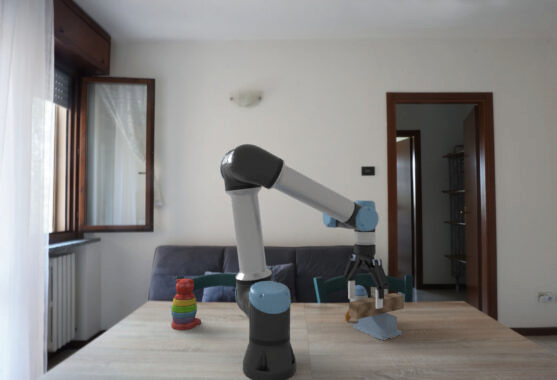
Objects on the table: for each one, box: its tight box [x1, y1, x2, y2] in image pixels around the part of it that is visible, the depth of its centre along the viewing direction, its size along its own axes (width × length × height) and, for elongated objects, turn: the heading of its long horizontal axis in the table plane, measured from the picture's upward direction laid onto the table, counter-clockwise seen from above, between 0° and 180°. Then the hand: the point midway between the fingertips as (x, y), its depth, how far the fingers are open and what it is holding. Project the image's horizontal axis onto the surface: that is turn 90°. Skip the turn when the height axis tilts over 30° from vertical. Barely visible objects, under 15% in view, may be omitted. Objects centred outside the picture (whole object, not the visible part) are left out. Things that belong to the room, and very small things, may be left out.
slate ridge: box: [352, 312, 403, 341], centre depth 131 cm, size 10×14×7 cm
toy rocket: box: [344, 284, 369, 322], centre depth 142 cm, size 10×11×15 cm
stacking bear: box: [170, 278, 202, 331], centre depth 136 cm, size 11×10×18 cm
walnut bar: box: [348, 292, 405, 320], centre depth 131 cm, size 24×4×5 cm, turn 122°
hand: (364, 303), depth 128 cm, fingers open, 13 cm apart
